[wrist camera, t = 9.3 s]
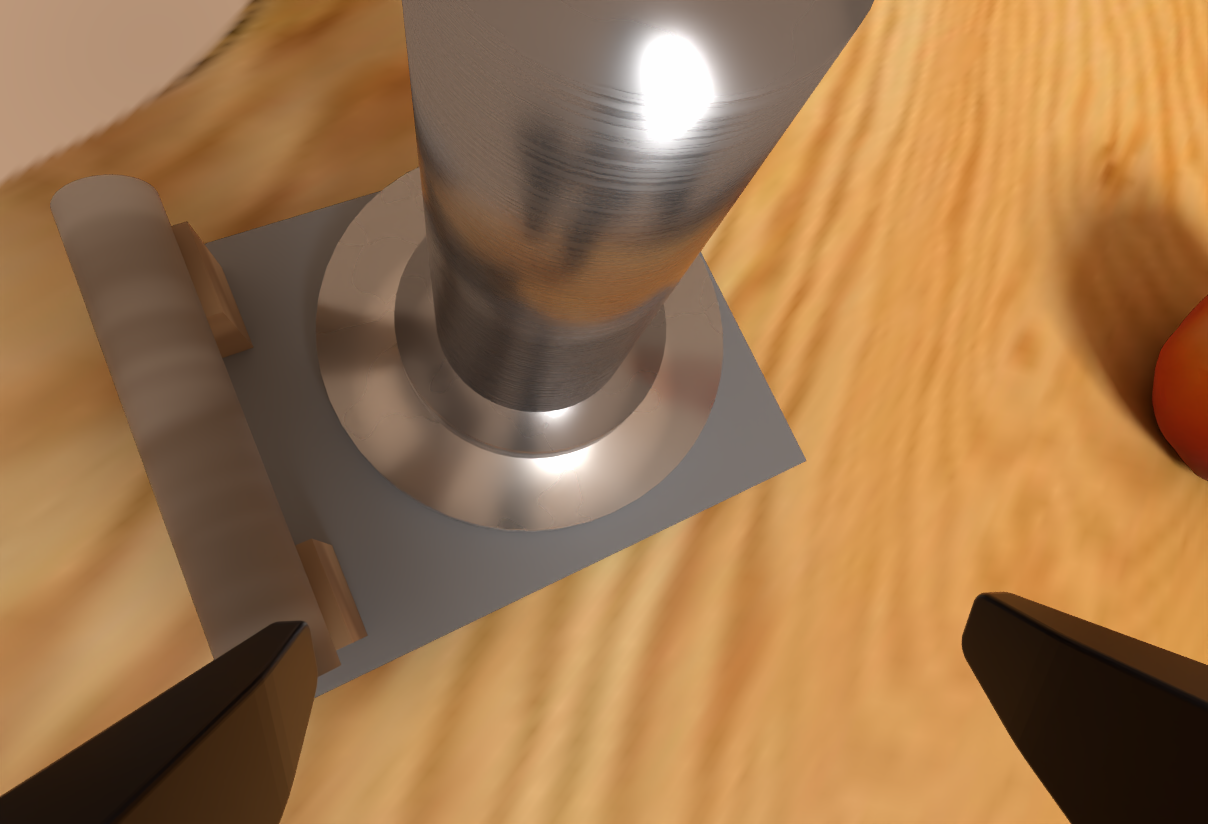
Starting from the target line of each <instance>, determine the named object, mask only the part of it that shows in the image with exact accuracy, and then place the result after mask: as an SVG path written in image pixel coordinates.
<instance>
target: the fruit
mask: <svg viewBox="0 0 1208 824" xmlns="http://www.w3.org/2000/svg"><path fill="white" fill-rule="evenodd" d="M1152 403H1153V409H1154V414H1155V417H1156V420H1157V424H1158V426H1159V428H1160V430H1161V432H1162V434H1163V435H1164V437H1165V439H1166V440H1167V441H1168V442H1169V443H1170V444H1171V446H1172V447H1173V448H1174V449H1175V451H1176V452H1177V453H1178V455H1179V456H1180V457H1181V459H1182V460H1183V461H1184V462H1185V464H1186V465H1187V466H1188V467H1189V468H1190V469H1191V470H1192V471H1193V472H1194V473H1195V474H1196V475H1197V476H1199V477H1201V478H1202V479H1205V480H1207V481H1208V295H1207V296H1206V297H1205V298H1204V299H1203V300H1202V301H1201V302H1200V303H1199V304H1198V305H1197V306H1196V307H1195V308H1194V309H1193V310H1192V311H1191V312H1190V313H1189V315H1188V316H1187V317H1186V318H1185V319H1184V320H1183V322H1182V323H1181V324H1180V326H1179V327H1178V328H1177V330H1176V331H1175V332H1174V333H1173V334H1172V335H1171V336H1170V337H1169V339H1168V340H1167V341H1166V343H1165V344H1164V345H1163V347H1162V349H1161V351H1160V354H1159V357H1158V361H1157V364H1156V367H1155V374H1154V385H1153V394H1152Z"/></svg>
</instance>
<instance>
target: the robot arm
mask: <svg viewBox="0 0 1208 824" xmlns="http://www.w3.org/2000/svg"><path fill="white" fill-rule="evenodd" d="M962 650H963V653H964V656H965V659H966V661H967V662H968V664H969V666H970V668H971V669H972V671H973V673H974V674H975V676H976V678H977V680H978V681H979V683H980V685H981V687H982V688H983V690H984V692H985V694H986V695H987V697H988V699H989V700H990V702H991V704H992V706H993V707H994V709H995V711H996V713H997V714H998V716H999V718H1000V720H1001V721H1002V723H1003V725H1004V726H1005V728H1006V730H1007V732H1008V733H1009V735H1010V737H1011V738H1012V740H1013V741H1014V743H1015V745H1016V746H1017V748H1018V749H1019V751H1020V752H1021V754H1022V755H1023V757H1024V758H1025V760H1026V761H1027V763H1028V764H1029V765H1030V767H1031V768H1032V770H1033V771H1034V772H1035V774H1036V775H1037V777H1038V778H1039V780H1040V781H1041V782H1042V784H1043V785H1044V787H1045V788H1046V789H1047V791H1048V792H1049V794H1050V795H1051V796H1052V798H1053V799H1054V801H1055V802H1056V803H1057V805H1058V806H1059V808H1060V809H1061V810H1062V812H1063V813H1064V815H1065V816H1066V817H1067V819H1068V820H1069V822H1070V823H1071V824H1208V665H1206V664H1203V663H1200V662H1197V661H1195V660H1192V659H1189V658H1187V657H1184V656H1181V655H1178V654H1176V653H1173V652H1170V651H1167V650H1165V649H1162V648H1159V647H1157V646H1154V645H1151V644H1148V643H1146V642H1143V641H1140V640H1137V639H1135V638H1132V637H1129V636H1127V635H1124V634H1121V633H1118V632H1116V631H1113V630H1110V629H1108V628H1105V627H1102V626H1099V625H1097V624H1094V623H1091V622H1088V621H1086V620H1083V619H1080V618H1078V617H1075V616H1072V615H1069V614H1067V613H1064V612H1061V611H1058V610H1056V609H1053V608H1050V607H1048V606H1045V605H1042V604H1039V603H1037V602H1034V601H1031V600H1028V599H1026V598H1023V597H1020V596H1018V595H1015V594H1012V593H1008V592H989V593H982V594H979V595H978V596H977V597H976V598H975V600H974V603H973V606H972V608H971V611H970V614H969V617H968V620H967V623H966V626H965V629H964V632H963V635H962ZM317 678H318V672H317V664H316V658H315V653H314V647H313V642H312V636H311V631H310V627H309V625H308V624H307V623H306V622H305V621H278V622H274V623H272V624H270V625H268V626H267V627H265V628H264V629H262V630H260V631H259V632H257V633H256V634H254V635H253V636H251V637H249V638H248V639H246V640H245V641H243V642H242V643H240V644H238V645H237V646H235V647H234V648H232V649H231V650H229V651H228V652H226V653H224V654H223V655H221V656H220V657H218V658H217V659H215V660H213V661H212V662H210V663H209V664H207V665H206V666H204V667H202V668H201V669H199V670H198V671H196V672H195V673H193V674H191V675H190V676H188V677H187V678H185V679H184V680H182V681H181V682H179V683H177V684H176V685H174V686H173V687H171V688H170V689H168V690H166V691H165V692H163V693H162V694H160V695H159V696H157V697H155V698H154V699H152V700H151V701H149V702H148V703H146V704H144V705H143V706H141V707H140V708H138V709H137V710H135V711H134V712H132V713H130V714H129V715H127V716H126V717H124V718H123V719H121V720H119V721H118V722H116V723H115V724H113V725H112V726H110V727H108V728H107V729H105V730H104V731H102V732H101V733H99V734H97V735H96V736H94V737H93V738H91V739H90V740H88V741H86V742H85V743H83V744H82V745H80V746H79V747H77V748H75V749H74V750H72V751H71V752H69V753H68V754H66V755H64V756H63V757H61V758H60V759H58V760H57V761H55V762H54V763H52V764H50V765H49V766H47V767H46V768H44V769H43V770H41V771H39V772H38V773H36V774H35V775H33V776H32V777H30V778H28V779H27V780H25V781H24V782H22V783H21V784H19V785H17V786H16V787H14V788H13V789H11V790H10V791H8V792H6V793H5V794H3V795H2V796H0V824H279V823H280V820H281V818H282V815H283V812H284V809H285V806H286V804H287V801H288V798H289V795H290V791H291V788H292V784H293V781H294V777H295V773H296V769H297V765H298V761H299V757H300V753H301V749H302V745H303V741H304V737H305V733H306V729H307V725H308V721H309V717H310V713H311V709H312V705H313V701H314V697H315V693H316V688H317Z"/></svg>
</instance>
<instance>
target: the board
mask: <svg viewBox="0 0 1208 824" xmlns="http://www.w3.org/2000/svg"><path fill="white" fill-rule="evenodd" d="M380 192H381V191H379V192H376V193H372V194H369V195H366V196H362V197H359V198H356V199H352V200H349V201H346V202H342V203H339V204H336V205H332V206H329V207H326V208H322V209H319V210H316V211H312V212H309V213H306V214H302V215H299V216H296V217H292V218H289V219H286V220H282V221H279V222H276V223H272V224H269V225H266V226H262V227H259V228H256V229H252V230H249V231H246V232H242V233H239V234H236V235H232V236H229V237H226V238H222V239H219V240H215V241H212V242H209V243H205V246H206V247H207V248H208V250H209V251H210V252H211V254H212V255H213V256H214V258H215V259H216V260H217V262H218V263H219V264H220V266H221V267H222V269H223V272H224V274H225V277H226V279H227V282H228V284H229V287H230V289H231V292H232V294H233V297H234V299H235V302H236V304H237V307H238V309H239V312H240V314H241V317H242V320H243V322H244V325H245V327H246V330H247V332H248V335H249V337H250V340H251V342H252V345H253V348H250V349H247V350H245V351H242V352H239V353H236V354H233V355H230V356H227V357H224V358H222V359H223V361H224V364H225V366H226V369H227V372H228V374H229V377H230V379H231V382H232V384H233V387H234V390H235V392H236V395H237V397H238V400H239V402H240V405H241V408H242V410H243V413H244V415H245V418H246V420H247V423H248V426H249V428H250V431H251V433H252V436H253V439H254V441H255V444H256V446H257V449H258V451H259V454H260V457H261V459H262V462H263V464H264V467H265V469H266V472H267V475H268V477H269V480H270V482H271V485H272V487H273V490H274V493H275V495H276V498H277V500H278V503H279V505H280V508H281V511H282V513H283V516H284V518H285V521H286V523H287V526H288V529H289V531H290V534H291V536H292V539H293V541H294V544H295V545H297V544H300V543H302V542H305V541H307V540H309V539H315V540H318V541H321V542H324V543H327V544H330V545H332V546H333V549H334V552H335V554H336V557H337V559H338V562H339V564H340V567H341V569H342V572H343V574H344V577H345V579H346V582H347V584H348V587H349V589H350V592H351V594H352V597H353V599H354V602H355V604H356V607H357V610H358V612H359V615H360V617H361V620H362V622H363V625H364V627H365V630H366V632H367V635H368V636H366V637H364V638H362V639H359V640H357V641H355V642H353V643H351V644H349V645H347V646H345V647H343V648H340V649H338V650H336V652H337V655H338V657H339V660H340V662H341V666H339V667H337V668H335V669H333V670H331V671H329V672H327V673H325V674H323V675H321V676H319V677H318V678H317V688H316V693H315V697H314V698H316V697H318V696H320V695H322V694H324V693H326V692H328V691H330V690H332V689H334V688H336V687H338V686H340V685H342V684H345V683H347V682H349V681H351V680H353V679H355V678H357V677H359V676H361V675H363V674H365V673H367V672H369V671H371V670H374V669H376V668H378V667H380V666H382V665H384V664H386V663H388V662H390V661H392V660H394V659H396V658H398V657H401V656H403V655H405V654H407V653H409V652H411V651H413V650H415V649H417V648H419V647H421V646H423V645H425V644H427V643H430V642H432V641H434V640H436V639H438V638H440V637H442V636H444V635H446V634H448V633H450V632H452V631H454V630H457V629H459V628H461V627H463V626H465V625H467V624H469V623H471V622H473V621H475V620H477V619H479V618H481V617H483V616H486V615H488V614H490V613H492V612H494V611H496V610H498V609H500V608H502V607H504V606H506V605H508V604H510V603H512V602H515V601H517V600H519V599H521V598H523V597H525V596H527V595H529V594H531V593H533V592H535V591H537V590H539V589H542V588H544V587H546V586H548V585H550V584H552V583H554V582H556V581H558V580H560V579H562V578H564V577H566V576H568V575H571V574H573V573H575V572H577V571H579V570H581V569H583V568H585V567H587V566H589V565H591V564H593V563H595V562H598V561H600V560H602V559H604V558H606V557H608V556H610V555H612V554H614V553H616V552H618V551H620V550H622V549H624V548H627V547H629V546H631V545H633V544H635V543H637V542H639V541H641V540H643V539H645V538H647V537H649V536H651V535H653V534H656V533H658V532H660V531H662V530H664V529H666V528H668V527H670V526H672V525H674V524H676V523H678V522H680V521H683V520H685V519H687V518H689V517H691V516H693V515H695V514H697V513H699V512H701V511H703V510H705V509H707V508H709V507H712V506H714V505H716V504H718V503H720V502H722V501H724V500H726V499H728V498H730V497H732V496H734V495H736V494H739V493H741V492H743V491H745V490H747V489H749V488H751V487H753V486H755V485H757V484H759V483H761V482H763V481H765V480H768V479H770V478H772V477H774V476H776V475H778V474H780V473H782V472H784V471H786V470H788V469H790V468H792V467H794V466H797V465H799V464H801V463H803V462H805V461H806V459H805V457H804V455H803V453H802V451H801V449H800V447H799V445H798V443H797V441H796V439H795V437H794V435H793V433H792V431H791V429H790V427H789V425H788V423H787V421H786V419H785V417H784V415H783V413H782V411H781V409H780V407H779V405H778V403H777V401H776V399H775V398H774V396H773V394H772V392H771V390H770V388H769V386H768V384H767V382H766V380H765V378H764V376H763V374H762V372H761V370H760V368H759V366H758V364H757V362H756V360H755V358H754V356H753V354H752V352H751V350H750V348H749V346H748V344H747V342H746V340H745V338H744V336H743V334H742V332H741V330H740V328H739V326H738V325H737V323H736V321H735V319H734V317H733V315H732V313H731V311H730V309H729V307H728V305H727V303H726V301H725V299H724V297H723V295H722V293H721V291H720V289H719V287H718V285H717V283H716V281H715V279H714V277H713V275H712V273H711V271H710V269H709V267H708V265H707V263H706V261H705V259H704V257H703V255H702V253H701V252H700V253H699V255H700V257H701V259H702V260H703V262H704V265H705V267H706V269H707V272H708V274H709V276H710V279H711V281H712V283H713V287H714V290H715V294H716V297H717V301H718V304H719V309H720V315H721V322H722V328H723V360H722V370H721V378H720V382H719V386H718V390H717V394H716V398H715V401H714V404H713V407H712V409H711V412H710V414H709V417H708V419H707V422H706V424H705V426H704V427H703V429H702V431H701V433H700V434H699V436H698V438H697V440H696V441H695V443H694V445H693V446H692V447H691V449H690V450H689V451H688V453H687V454H686V455H685V457H684V458H683V459H682V460H681V462H680V463H679V464H678V465H677V466H676V467H675V468H674V469H673V470H672V471H671V472H670V473H669V474H668V475H667V476H666V477H665V478H664V479H663V480H662V481H661V482H660V483H659V484H657V485H656V486H655V487H653V488H652V489H651V490H649V491H648V492H647V493H645V494H644V495H643V496H641V497H640V498H638V499H637V500H635V501H633V502H631V503H629V504H627V505H626V506H624V507H622V508H620V509H618V510H617V511H615V512H613V513H611V514H608V515H606V516H603V517H601V518H598V519H595V520H593V521H590V522H588V523H585V524H581V525H576V526H572V527H568V528H564V529H560V530H550V531H540V532H509V531H500V530H494V529H488V528H482V527H477V526H473V525H470V524H467V523H463V522H460V521H457V520H454V519H451V518H448V517H446V516H444V515H442V514H440V513H437V512H435V511H433V510H431V509H429V508H426V507H425V506H423V505H421V504H420V503H418V502H417V501H415V500H414V499H412V498H410V497H409V496H407V495H406V494H404V493H402V492H401V491H400V490H399V489H398V488H396V487H395V486H394V485H393V484H392V483H390V482H389V481H388V480H387V479H386V478H384V477H383V476H382V475H381V474H380V473H379V472H378V471H377V470H376V469H375V468H374V467H373V465H372V464H371V463H370V462H369V461H368V460H367V459H366V458H365V457H364V456H363V454H362V453H361V452H360V451H359V449H358V448H357V446H356V445H355V443H354V442H353V441H352V439H351V438H350V436H349V435H348V433H347V432H346V430H345V429H344V427H343V426H342V424H341V422H340V420H339V418H338V416H337V414H336V412H335V410H334V408H333V406H332V404H331V402H330V400H329V397H328V394H327V391H326V388H325V385H324V382H323V378H322V375H321V371H320V365H319V359H318V354H317V348H316V314H317V306H318V298H319V293H320V289H321V285H322V282H323V278H324V274H325V271H326V268H327V266H328V263H329V261H330V259H331V257H332V254H333V252H334V250H335V248H336V246H337V244H338V242H339V241H340V239H341V237H342V236H343V234H344V233H345V231H346V229H347V228H348V226H349V225H350V223H351V222H352V221H353V220H354V219H355V217H356V216H357V215H358V214H359V213H360V211H361V210H362V209H363V208H364V207H365V206H366V204H368V203H369V202H370V201H371V200H372V199H373V198H374V197H375V196H376V195H378V194H379V193H380Z"/></svg>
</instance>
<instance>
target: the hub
mask: <svg viewBox="0 0 1208 824" xmlns="http://www.w3.org/2000/svg"><path fill="white" fill-rule="evenodd" d="M873 1H874V0H402V5H403V14H404V24H405V33H406V43H407V53H408V62H409V72H410V81H411V91H412V101H413V110H414V120H415V129H416V139H417V149H418V158H419V168H420V177H421V187H422V197H423V206H424V216H425V225H426V235H427V236H426V237H425V238H424V239H423V241H422V242H421V243H420V244H419V245H418V247H417V248H416V249H415V251H414V253H413V254H412V256H411V257H410V259H409V261H408V262H407V265H406V267H405V269H404V271H403V274H402V276H401V279H400V282H399V286H398V290H397V293H396V300H395V309H394V326H395V334H396V340H397V346H398V350H399V354H400V357H401V361H402V364H403V367H404V370H405V373H406V376H407V378H408V380H409V382H410V384H411V386H412V388H413V390H414V392H415V393H416V395H417V396H418V398H419V399H420V401H421V403H422V404H423V405H424V407H425V408H426V409H427V410H428V411H429V412H430V413H431V415H432V416H433V417H434V418H435V419H436V420H437V421H438V422H440V423H441V424H442V425H443V426H444V427H445V428H446V429H448V430H449V431H450V432H452V433H453V434H455V435H456V436H458V437H459V438H461V439H462V440H464V441H466V442H468V443H470V444H472V445H474V446H476V447H478V448H481V449H484V450H486V451H489V452H492V453H495V454H499V455H504V456H509V457H514V458H528V459H537V458H551V457H556V456H561V455H566V454H570V453H573V452H576V451H579V450H582V449H584V448H586V447H588V446H590V445H592V444H594V443H596V442H598V441H600V440H601V439H603V438H604V437H606V436H607V435H609V434H610V433H612V432H613V431H614V430H615V429H616V428H617V427H619V426H620V425H621V424H622V423H623V422H624V421H625V420H626V419H627V418H628V417H629V416H630V415H631V414H632V413H633V412H634V410H635V409H636V408H637V407H638V406H639V405H640V403H641V402H642V401H643V400H644V398H645V397H646V395H647V394H648V392H649V390H650V389H651V387H652V385H653V383H654V381H655V379H656V377H657V375H658V372H659V369H660V366H661V363H662V359H663V356H664V350H665V343H666V317H665V308H664V303H665V301H666V300H667V298H668V297H669V296H670V294H671V293H672V291H673V290H674V288H675V287H676V286H677V284H678V283H679V281H680V280H681V278H682V277H683V276H684V274H685V273H686V271H687V270H688V269H689V267H690V266H691V264H692V263H693V261H694V260H695V259H696V257H697V256H698V254H699V253H700V251H701V250H702V249H703V247H704V246H705V244H706V243H707V242H708V240H709V239H710V237H711V236H712V234H713V233H714V232H715V230H716V229H717V227H718V226H719V225H720V223H721V222H722V220H723V219H724V217H725V216H726V215H727V213H728V212H729V210H730V209H731V207H732V206H733V205H734V203H735V202H736V200H737V199H738V198H739V196H740V195H741V193H742V192H743V190H744V189H745V188H746V186H747V185H748V183H749V182H750V180H751V179H752V178H753V176H754V175H755V173H756V172H757V171H758V169H759V168H760V166H761V165H762V163H763V162H764V161H765V159H766V158H767V156H768V155H769V153H770V152H771V151H772V149H773V148H774V146H775V145H776V144H777V142H778V141H779V139H780V138H781V136H782V135H783V134H784V132H785V131H786V129H787V128H788V126H789V125H790V124H791V122H792V121H793V119H794V118H795V117H796V115H797V114H798V112H799V111H800V109H801V108H802V107H803V105H804V104H805V102H806V101H807V100H808V98H809V97H810V95H811V94H812V92H813V91H814V90H815V88H816V87H817V85H818V84H819V82H820V81H821V80H822V78H823V77H824V75H825V74H826V73H827V71H828V70H829V68H830V67H831V65H832V64H833V63H834V61H835V60H836V58H837V57H838V55H839V54H840V53H841V51H842V50H843V48H844V47H845V46H846V44H847V43H848V41H849V40H850V38H851V37H852V36H853V34H854V33H855V31H856V30H857V28H858V27H859V25H860V24H861V22H862V21H863V19H864V18H865V16H866V15H867V13H868V12H869V10H870V8H871V6H872V4H873Z"/></svg>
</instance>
